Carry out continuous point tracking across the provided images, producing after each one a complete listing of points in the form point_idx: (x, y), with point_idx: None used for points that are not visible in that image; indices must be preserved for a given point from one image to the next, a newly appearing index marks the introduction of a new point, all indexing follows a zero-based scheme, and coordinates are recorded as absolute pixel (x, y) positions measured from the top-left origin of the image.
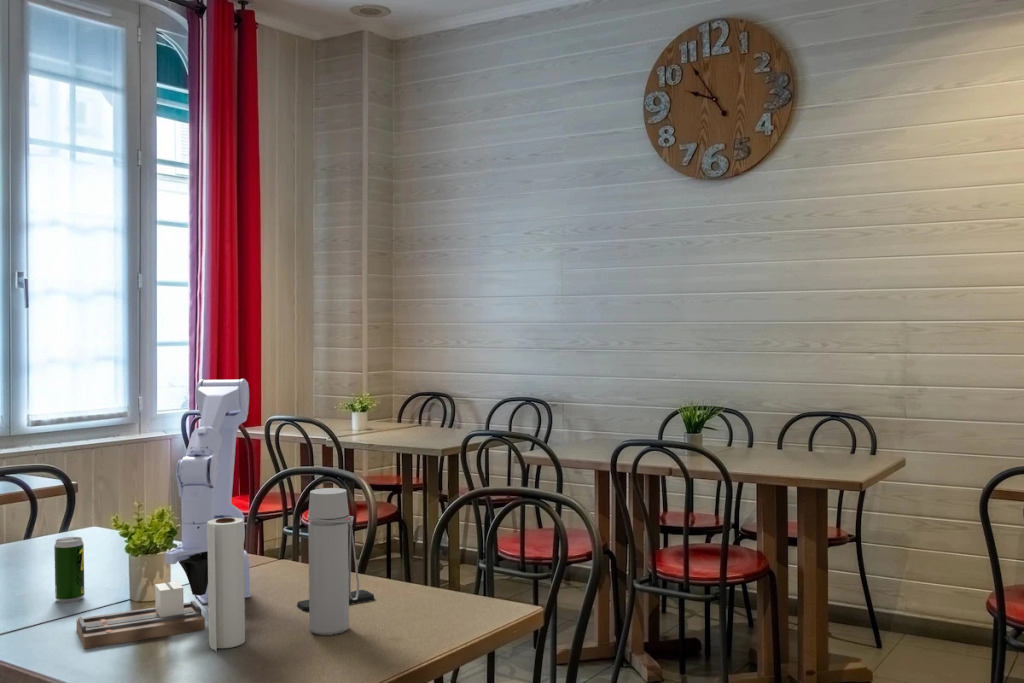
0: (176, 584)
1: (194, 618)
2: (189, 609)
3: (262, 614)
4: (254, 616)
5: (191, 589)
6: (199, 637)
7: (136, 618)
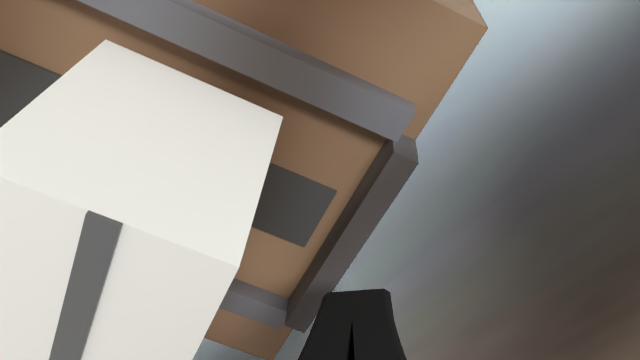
0: (159, 338)
1: (234, 325)
2: (322, 192)
3: (623, 355)
4: (575, 348)
5: (313, 327)
6: (200, 357)
7: None
